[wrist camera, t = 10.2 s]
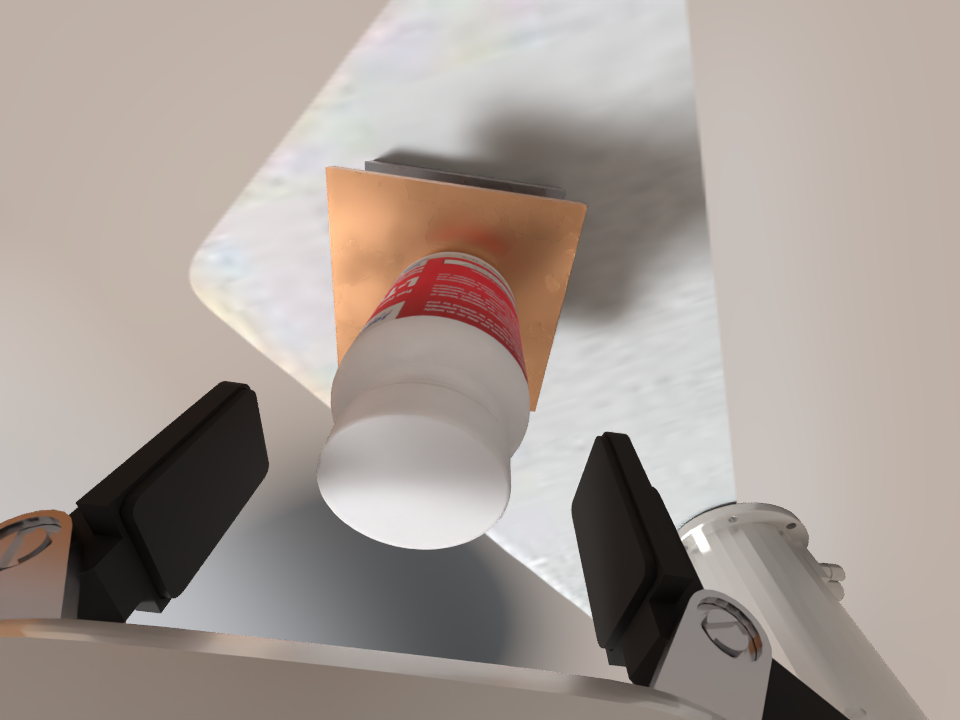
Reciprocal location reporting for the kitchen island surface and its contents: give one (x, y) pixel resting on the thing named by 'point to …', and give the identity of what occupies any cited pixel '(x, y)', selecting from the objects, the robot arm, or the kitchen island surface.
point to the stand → (450, 243)
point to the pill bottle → (429, 408)
